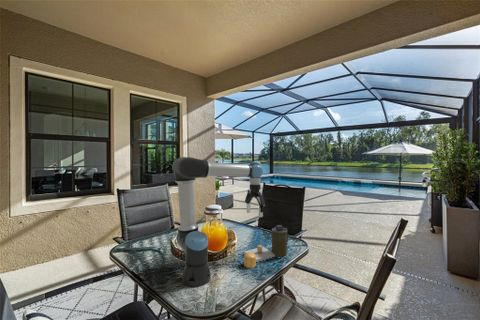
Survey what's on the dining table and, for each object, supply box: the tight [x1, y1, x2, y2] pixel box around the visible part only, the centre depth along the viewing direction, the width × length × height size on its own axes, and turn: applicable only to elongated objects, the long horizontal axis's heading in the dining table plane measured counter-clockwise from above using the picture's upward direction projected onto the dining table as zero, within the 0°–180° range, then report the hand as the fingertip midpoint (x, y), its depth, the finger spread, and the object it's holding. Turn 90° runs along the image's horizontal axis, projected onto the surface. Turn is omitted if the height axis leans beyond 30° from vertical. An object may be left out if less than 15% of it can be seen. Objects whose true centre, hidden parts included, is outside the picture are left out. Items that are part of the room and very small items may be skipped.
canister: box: [271, 224, 289, 258], centre depth 148 cm, size 11×10×20 cm
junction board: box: [243, 244, 275, 263], centre depth 146 cm, size 16×14×6 cm
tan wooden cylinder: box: [243, 253, 257, 269], centre depth 133 cm, size 7×7×6 cm
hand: (254, 214), depth 152 cm, fingers open, 13 cm apart
